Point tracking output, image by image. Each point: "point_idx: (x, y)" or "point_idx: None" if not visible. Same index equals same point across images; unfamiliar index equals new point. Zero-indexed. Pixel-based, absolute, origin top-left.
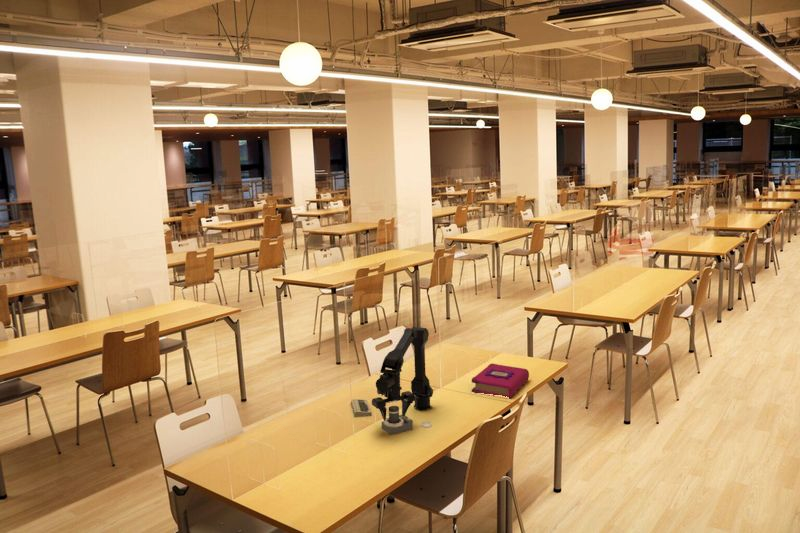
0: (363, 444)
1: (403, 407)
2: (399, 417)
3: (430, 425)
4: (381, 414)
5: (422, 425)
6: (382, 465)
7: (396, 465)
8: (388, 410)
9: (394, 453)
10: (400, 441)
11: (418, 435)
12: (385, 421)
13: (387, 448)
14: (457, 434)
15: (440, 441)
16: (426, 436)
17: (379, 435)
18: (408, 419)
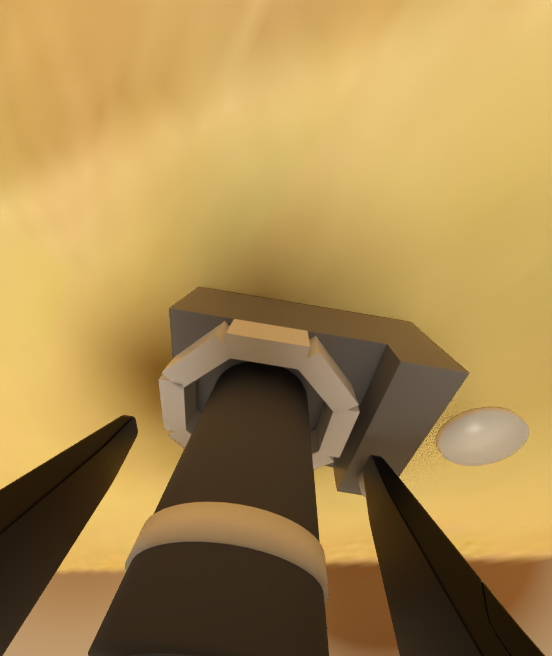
0: (8, 394)
1: (434, 644)
2: (353, 406)
3: (479, 463)
4: (21, 478)
5: (448, 438)
6: None
7: (108, 544)
8: (129, 557)
9: (133, 508)
10: None
11: (325, 479)
12: (168, 390)
13: (121, 476)
14: (457, 548)
15: (349, 542)
16: (345, 501)
17: (134, 366)
18: (363, 493)
